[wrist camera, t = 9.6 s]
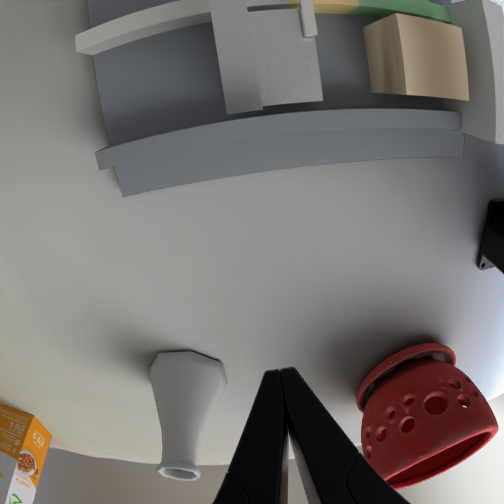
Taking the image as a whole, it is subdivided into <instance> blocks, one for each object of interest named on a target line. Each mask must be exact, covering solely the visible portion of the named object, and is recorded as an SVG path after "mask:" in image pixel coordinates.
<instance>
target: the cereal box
mask: <svg viewBox="0 0 504 504" xmlns="http://www.w3.org/2000/svg"><path fill="white" fill-rule="evenodd" d="M51 438H52V435H51V434H50V433H49V431H48V430H47V429H46V428H45V427H44V426H43V425H42V424H41V423H40V421H39V420H38V419H37V418H36V417H35V416H34V415H31V414H28V413H25V412H22V411H19V410H16V409H13V408H10V407H7V406H4V405H2V404H0V504H33V500H34V496H35V492H36V488H37V484H38V481H39V477H40V473H41V470H42V466H43V463H44V459H45V456H46V453H47V450H48V447H49V444H50V441H51Z"/></svg>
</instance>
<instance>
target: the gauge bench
mask: <svg viewBox="0 0 504 504" xmlns="http://www.w3.org/2000/svg"><path fill="white" fill-rule="evenodd" d="M246 4H247V10H248V12H252V11H263V10H277V9H300V7H299V2H298V0H246ZM312 4H313V9H314V15H315V20H316V26H317V32H318V35H317V36H314V37H315V43H316V50H317V56H318V64H319V71H320V79H321V87H322V95H323V101H313V102H300V103H288V104H278V105H269V106H263V110H256V111H248V112H241V113H235V114H228V115H227V111H226V104H225V98H224V92H223V86H222V80H221V73H220V67H219V61H218V55H217V48H216V42H215V36H214V30H213V23H212V17H211V11H210V4H209V0H87V6H88V18H89V28H90V29H89V30H87V31H84V32H82V33H80V34H77V35H75V44H76V52H78V53H84V54H89V55H93V61H94V68H95V74H96V81H97V87H98V92H99V98H100V103H101V108H102V113H103V118H104V123H105V128H106V133H107V137H108V141H109V146H107V147H105V148H103V149H101V150H99V151H97V152H95V154H96V158H97V162H98V166H99V170H103V169H107V168H110V167H114V166H115V170H116V174H117V178H118V182H119V185H120V189H121V193H122V196H123V197H126V196H130V195H135V194H140V193H144V192H149V191H154V190H158V189H163V188H168V187H173V186H179V185H184V184H189V183H195V182H200V181H206V180H212V179H218V178H224V177H230V176H236V175H243V174H250V173H257V172H264V171H271V170H279V169H287V168H295V167H303V166H313V165H322V164H332V163H343V162H355V161H369V160H384V159H402V158H429V157H464V133H465V134H468V135H471V136H474V137H477V138H480V139H483V140H486V141H489V142H492V143H495V144H504V16H503V12H502V7H501V6H500V5H498V4H495V3H493V2H491V1H489V0H465V1H461V2H457V3H453V4H451V1H450V0H312ZM395 13H398V14H404V15H410V16H415V17H420V18H425V19H430V20H434V21H438V22H442V23H446V24H450V25H454V26H457V27H461V29H462V35H463V41H464V48H465V56H466V65H467V75H468V88H469V101H466V100H458V99H450V98H441V97H430V96H417V95H402V94H386V93H371V85H370V76H369V67H368V59H367V52H366V45H365V38H364V32H363V27H365V26H367V25H369V24H371V23H374V22H376V21H378V20H380V19H383V18H385V17H388V16H390V15H393V14H395Z"/></svg>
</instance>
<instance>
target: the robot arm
mask: <svg viewBox="0 0 504 504" xmlns="http://www.w3.org/2000/svg"><path fill="white" fill-rule="evenodd" d="M477 267H478V268H479V269H480V270H485V269H489V268H492V267H496V268H497V269H499V270H500V271H501V272H502V273H503V274H504V199H496V200H492V201H491V202H490V203H489V207H488V214H487V220H486V225H485V231H484V236H483V241H482V245H481V250H480V254H479V259H478V263H477ZM287 426H288V427H287ZM288 432H289V437H290V441H291V445H292V448H293V452H294V455H295V459H296V462H297V466H298V469H299V472H300V476H301V479H302V483H303V486H304V489H305V493H306V496H307V500H308V503H309V504H411V503H409V502H408V501H407V500H406V499H405V498H403V497H402V496H401V495H400V494H399V493H398V492H397V491H396V490H394V489H393V488H392V487H391V486H390V485H389V484H388V483H387V482H386V481H385V480H384V479H383V478H382V477H381V476H380V475H379V474H378V473H377V472H376V471H375V470H374V468H373V467H372V466H371V465H370V464H369V463H368V462H367V460H366V459H365V458H364V457H363V455H362V454H361V453H358V452H359V451H358V449H357V448H356V447H355V445H354V444H353V443H352V442H351V440H350V439H349V438H348V437H347V435H346V434H345V433H344V431H343V430H342V429H341V428H340V426H339V425H338V424H337V422H336V421H335V420H334V419H333V417H332V416H331V415H330V413H329V412H328V411H327V409H326V408H325V407H324V406H323V404H322V403H321V402H320V400H319V399H318V398H317V396H316V395H315V394H314V392H313V391H312V390H311V388H310V387H309V386H308V384H307V383H306V382H305V380H304V379H303V378H302V376H301V375H300V374H299V372H298V371H297V370H296V369H295V368H294V367H288V368H282V369H281V370H280V371H279V370H278V369H275V370H267V371H265V373H264V375H263V378H262V381H261V384H260V387H259V389H258V392H257V395H256V398H255V400H254V403H253V406H252V409H251V411H250V414H249V417H248V419H247V422H246V425H245V427H244V430H243V433H242V435H241V438H240V440H239V443H238V446H237V448H236V451H235V453H234V456H233V458H232V461H231V463H230V466H229V468H228V472H229V473H226V475H225V478H224V480H223V482H222V485H221V487H220V489H219V491H218V493H217V496H216V498H215V500H214V502H213V503H212V504H287V503H288V452H289V440H288Z"/></svg>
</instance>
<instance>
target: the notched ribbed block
mask: <svg viewBox="0 0 504 504" xmlns="http://www.w3.org/2000/svg"><path fill="white" fill-rule="evenodd" d="M298 2H299V7H300V9H277V10H263V11H252V12H248V10H247V4H246V0H209V4H210V11H211V17H212V23H213V30H214V36H215V42H216V48H217V55H218V61H219V67H220V73H221V80H222V86H223V92H224V98H225V104H226V111H227V115H228V114H235V113H241V112H248V111H256V110H263V106H269V105H278V104H288V103H300V102H313V101H323V95H322V87H321V79H320V71H319V64H318V56H317V50H316V43H315V37H314V36H317V35H318V32H317V26H316V20H315V15H314V9H313V4H312V0H298Z"/></svg>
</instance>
